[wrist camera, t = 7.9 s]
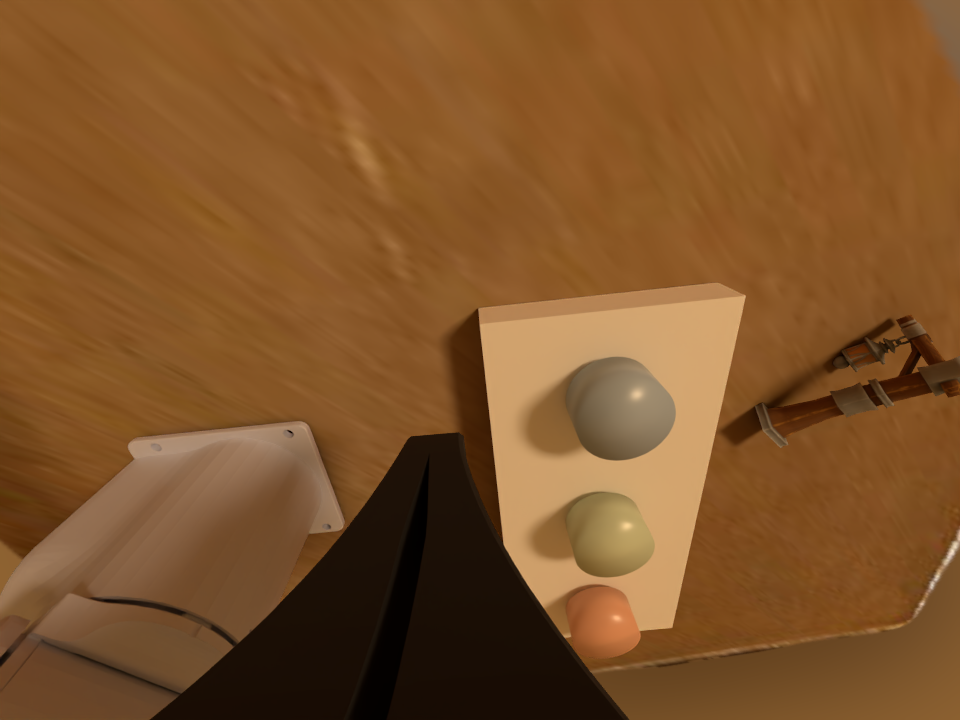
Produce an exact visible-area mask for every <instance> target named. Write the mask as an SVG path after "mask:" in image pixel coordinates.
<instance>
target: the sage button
mask: <svg viewBox="0 0 960 720" xmlns="http://www.w3.org/2000/svg"><path fill="white" fill-rule="evenodd" d="M566 529H567V532H568V536H569V539H570V543H571V547H572V550H573V554H574V558H575V561H576V564H577V566H578V567H579V568H580V569H581V570H582V571H584V572H585V573H587V574H589V575H592V576H596V577H606V578H608V577H618V576H622V575H626V574H629V573H631V572H633V571H635V570H637V569H639V568H640V567H642V566H643V565H644V564H646V563H647V562H648V560H649V559H650V558H651V556H652V555H653V552H654V549H655V543H654V539H653V537H652V535H651V533H650V531H649V529H648V527H647V525H646V523H645V521H644V519H643V517H642V515H641V513H640V511H639V509H638V507H637V505H636V504H635V502H634V501H633V500H632V499H630V498H629V497H627V496H625V495H622V494H618V493H609V492H608V493H598V494H594V495H591V496H588V497H586V498H584V499H582V500H581V501H579V502H578V503H576V504H575V505H574V506H573V507H572V508H571V509H570V511H569V513H568V515H567V517H566Z"/></svg>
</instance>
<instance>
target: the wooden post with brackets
mask: <svg viewBox="0 0 960 720" xmlns="http://www.w3.org/2000/svg"><path fill="white" fill-rule="evenodd" d="M896 321H897V322H898V324H899V326H900V327H901V331H902V332H903V333H904V335H905V336H902V337H900V338H898V339H897V340H895V339H894V340H887V339H885V338H883V340H884V342H885V344H883V343H881V342H880V341H879V344H878V343H875V342H873V341H871V340H869V339H868V338H867V337H865V338H864V339H865V341H866V342H864V343H862V344H860V345H856V346H853V347H850V348H846V349H844V350H842V351H841V352H842V353H843V355H844V357H843V356H840V357H837V358H836V359H835V360H834V361H833V365H834V366H835V367H836V368H840V369H843V368H846V367H848V366H849V365H851V367H852V368H853V369H854V370H855V372H857V370H859V369H860V368H862V367H864V366H867V365H869V364H871V363H874V362H878V361H880V362H881V363H882V364H885V360H884V354H885V353H888V349H890V351H892V352H893V353H895V347H898V346H899V345H902V344H906V343H909V342H910V344H911V348H912V352H911V354H910V356H909V357H908V359H907V361H906V363H905V365H904V367H903V369H902V371H901V372H900V374H899V376H898V377H896V378H892V379H888V380H884V381H879V382H878V381H877V379H876V378H875V379H873V380H868V382H869V383H870V384H868V385H864V386H862V385H861V383H858V384H856V385H854V386H851V387H848V388H845V389H841V390H838V391H830V393H831V395H830V396H826V397H823V398H820V399H816V400H812V401H807V402H803V403H798V404H793V405H789V406H784V407H777V408H769V409H768V408H767V407H766V406H765V405H764V404H763V403H761V404H758V405H756V406H755V408H756V411H757V414H758V417H759V420H760V423H761V426H762V429H763V431H764V432H765V433H766V434H767V435H768V436H769V437H770V438H771V439H772V440H773V441H774V442H775V443H776V444H777V445H778V446H779V447H780V448H782V446H785V445H788V443H787V440H786V437H787V436H789V435H791V434H793V433H795V432H797V431H799V430H802V429H804V428H807V427H809V426H812V425H814V424H817V423H819V422H821V421H824V420H826V419H829V418H833V417H836V416H839V415H843V414H845V415H846V417H849V416H851V415H853V414H857V413H861V412H865V411H870V410H878V408H877V406H879V405H882V404H884V405H885V407H886V408H887V407H889V406H894V404H893V403H892V402H894V401H899V400H903V399H907V398H911V397H915V396H919V395H923V394H927V393H932V392H933V393H934V395H935V396H938V395H940V394H943V393H946V395H947V396H948V397H953V396H957V395H960V356H959V357H956V358H954V359H952V360H948V361H945V360H944V359H943V358H942V356H941V355H940V354H939V352H938V351H937V350H936V348H935V347H934V346H933V344H932V343H931V342H933V341H932V340H931V338H930V337H929V335H928V334H927V332H926V331H925V330H924V328H923V327H922V326H921V324H920V323H917V321H916V320H915V319H914V318H913V317H912V315H908V316H905V317H903V318H900V319H898V320H896ZM905 337H906V338H907V339H908V341H906V342H903V343H901V341H899V340H900V339H903V338H905ZM893 341H896V343H897V344H898V345H896V346H895V345H894V344H893V343H892V342H893ZM921 355H922V357H923V358H924V360H925V361H926V362H927V364H928V365H929V366H926V367H918V370H919V372H917V373H912V371H913V369H914V367H915V366H916V364H917V362H918V360H919V358H920V356H921ZM911 373H912V374H911Z"/></svg>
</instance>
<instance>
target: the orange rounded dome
mask: <svg viewBox="0 0 960 720" xmlns="http://www.w3.org/2000/svg"><path fill="white" fill-rule="evenodd" d="M566 615H567V619H568V624H569V628H570V633H571V637H572V642H573V646H574V649H575V650H576V651H577V652H578V653H579V654H581V655H583V656H585V657H589V658H596V659H604V658H612V657H616V656H619V655H622V654H624V653H626V652H628V651H630V650H632V649H633V648H634V647H635V646H636V645H637V644H638V642H639V640H640V636H641V635H640V631H639V629H638V626H637V623H636V620H635V618H634V615H633V612H632V610H631V607H630V604H629V602H628V599H627V597H626V595H625V594H624V593H623V592H621V591H620V590H618V589H615V588H611V587H594V588H589V589H586V590H583V591H581V592H579V593H577V594H575V595H574V596H573V597H572V598H571V599H570V600H569V601H568V602H567V604H566Z"/></svg>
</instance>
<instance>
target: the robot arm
mask: <svg viewBox="0 0 960 720" xmlns="http://www.w3.org/2000/svg"><path fill="white" fill-rule="evenodd" d="M287 430H290V431H292V432H293V433H289V432H288V431H287ZM128 449H129V451H130V452H131V454H132V455H133V457H134V458H135V459H134V460H133V461H132V462H131V463H129V464H128V465H127V466H126V467H125V468H124V469H123V470H122V471H120V472H119V473H118V474H117V475H116V476H115V477H114V478H113V479H111V480H110V481H109V482H108V483H107V484H106V485H105V486H103V487H102V488H101V489H100V490H99V491H98V492H97V493H96V494H94V495H93V496H92V497H91V498H90V499H89V500H88V501H87V502H85V503H84V504H83V505H82V506H81V507H80V508H79V509H77V510H76V511H75V512H74V513H73V514H72V515H71V516H70V517H68V518H67V519H66V520H65V521H64V522H63V523H62V524H61V525H59V526H58V527H57V528H56V529H55V530H54V531H53V532H52V533H50V534H49V535H48V536H47V537H46V538H45V539H44V540H42V541H41V542H40V543H39V544H38V545H37V546H36V547H35V548H34V549H33V550H32V551H31V552H30V553H29V554H28V555H27V556H26V557H25V558H24V559H23V560H22V561H21V563H20V564H19V565H18V567H17V568H16V569H15V570H14V572H13V573H12V575H11V576H10V578H9V580H8V581H7V583H6V585H5V587H4V589H3V591H2V593H1V595H0V720H629V719H628V717H627V716H626V715H625V714H624V713H623V712H622V710H621V709H620V708H619V707H618V706H617V704H616V703H615V702H614V701H613V700H612V698H611V697H610V696H609V695H608V693H607V692H606V691H605V690H604V688H603V687H602V686H601V685H600V683H599V682H598V681H597V680H596V678H595V677H594V676H593V674H592V673H591V672H590V671H589V669H588V668H587V667H586V666H585V664H584V663H583V662H582V660H581V659H580V658H579V656H578V655H577V654H576V652H575V651H574V650H573V648H572V647H571V646H570V644H569V643H568V642H567V641H566V639H565V638H564V637H563V635H562V634H561V633H560V631H559V630H558V628H557V627H556V625H555V624H554V622H553V621H552V620H551V618H550V617H549V615H548V614H547V612H546V611H545V609H544V608H543V607H542V605H541V604H540V602H539V601H538V599H537V598H536V596H535V595H534V593H533V592H532V591H531V589H530V588H529V586H528V585H527V583H526V581H525V580H524V578H523V577H522V575H521V573H520V572H519V570H518V568H517V567H516V565H515V564H514V562H513V560H512V558H511V557H510V555H509V553H508V552H507V550H506V548H505V546H504V545H503V543H502V541H501V539H500V537H499V535H498V533H497V532H496V530H495V528H494V526H493V524H492V522H491V520H490V518H489V516H488V513H487V511H486V509H485V507H484V505H483V503H482V500H481V498H480V496H479V493H478V491H477V488H476V486H475V483H474V481H473V478H472V475H471V472H470V469H469V466H468V463H467V459H466V452H465V444H464V436H463V435H462V434H460V433H459V432H458V433H446V434H434V435H423V436H411V437H410V438H409V439H408V440H407V442H406V443H405V445H404V447H403V448H402V450H401V452H400V453H399V455H398V456H397V458H396V460H395V461H394V463H393V464H392V466H391V467H390V469H389V471H388V472H387V474H386V475H385V477H384V478H383V480H382V481H381V483H380V484H379V485H378V487H377V488H376V490H375V491H374V493H373V494H372V496H371V497H370V498H369V500H368V501H367V503H366V504H365V505H364V507H363V508H362V509H361V511H360V512H359V513H358V515H357V516H356V517H355V518H354V520H353V521H352V522H351V524H350V525H349V526H348V527H347V529H346V530H345V531H344V533H343V534H342V535H341V536H340V538H339V539H338V540H337V541H336V542H335V544H334V545H333V546H332V547H331V548H330V550H329V551H328V552H327V553H326V554H325V555H324V557H323V558H322V559H321V560H320V561H319V562H318V563H317V564H316V566H315V567H314V568H313V569H312V570H311V571H310V572H309V573H308V574H307V576H306V577H305V578H304V579H303V580H302V581H301V582H300V583H299V584H298V585H297V586H296V587H295V588H294V589H293V590H292V591H291V592H290V593H289V594H288V595H287V596H286V597H285V598H284V599H283V601H282V602H281V603H280V604H279V602H280V599H281V597H282V595H283V592H284V590H285V588H286V585H287V583H288V581H289V578H290V576H291V574H292V571H293V569H294V567H295V564H296V562H297V560H298V557H299V555H300V553H301V550H302V548H303V546H304V543H305V541H306V539H307V536H308V534H312V533H323V532H333V531H339V530H341V529H342V528H343V526H344V523H345V520H344V518H343V515H342V512H341V510H340V507H339V504H338V502H337V499H336V496H335V494H334V491H333V488H332V486H331V483H330V480H329V478H328V475H327V472H326V470H325V467H324V464H323V462H322V459H321V456H320V454H319V451H318V448H317V446H316V443H315V441H314V438H313V435H312V433H311V430H310V428H309V426H308V425H307V424H306V423H304V422H301V421H294V422H285V423H275V424H265V425H255V426H246V427H236V428H226V429H217V430H207V431H197V432H187V433H178V434H168V435H158V436H149V437H139V438H135V439H133V440H132V441H131V442H130V443H129V444H128ZM278 604H279V605H278Z"/></svg>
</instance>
